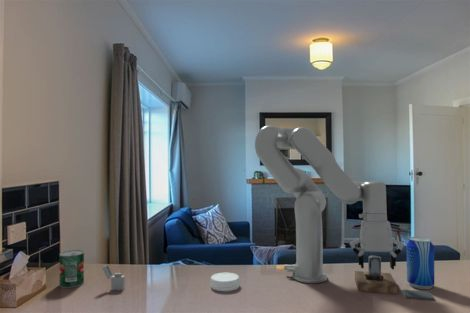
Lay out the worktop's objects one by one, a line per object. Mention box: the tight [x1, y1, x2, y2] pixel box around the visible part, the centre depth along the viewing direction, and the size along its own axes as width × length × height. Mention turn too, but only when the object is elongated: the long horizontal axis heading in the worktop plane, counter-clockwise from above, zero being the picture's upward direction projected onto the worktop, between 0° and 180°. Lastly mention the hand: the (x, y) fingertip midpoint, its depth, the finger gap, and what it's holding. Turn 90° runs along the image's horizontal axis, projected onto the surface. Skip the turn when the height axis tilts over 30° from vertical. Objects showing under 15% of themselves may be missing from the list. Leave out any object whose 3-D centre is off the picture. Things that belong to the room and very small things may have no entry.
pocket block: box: [354, 270, 398, 295], centre depth 122 cm, size 12×12×3 cm
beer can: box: [406, 236, 435, 290], centre depth 123 cm, size 8×8×16 cm
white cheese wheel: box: [210, 272, 241, 292], centre depth 123 cm, size 10×10×4 cm
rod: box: [367, 254, 382, 281], centre depth 123 cm, size 4×4×10 cm
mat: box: [401, 289, 436, 301], centre depth 114 cm, size 8×6×1 cm
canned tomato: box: [58, 249, 85, 289], centre depth 126 cm, size 8×8×11 cm
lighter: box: [102, 264, 126, 291], centre depth 121 cm, size 7×2×8 cm, turn 88°
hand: (376, 267), depth 122 cm, fingers open, 9 cm apart
